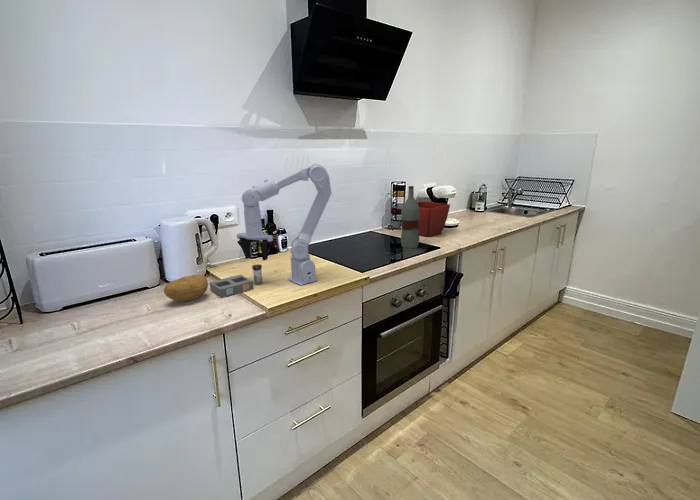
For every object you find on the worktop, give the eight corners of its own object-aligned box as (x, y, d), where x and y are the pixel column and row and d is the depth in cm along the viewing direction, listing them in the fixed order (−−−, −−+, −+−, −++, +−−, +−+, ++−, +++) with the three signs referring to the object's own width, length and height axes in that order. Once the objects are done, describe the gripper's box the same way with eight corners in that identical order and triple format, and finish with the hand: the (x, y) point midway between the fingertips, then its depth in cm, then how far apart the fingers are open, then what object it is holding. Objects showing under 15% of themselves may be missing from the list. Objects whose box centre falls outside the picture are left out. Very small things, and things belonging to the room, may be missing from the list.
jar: (264, 283, 140) (263, 265, 138) (256, 285, 138) (254, 267, 136) (260, 281, 143) (258, 263, 141) (252, 283, 141) (250, 265, 139)
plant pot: (429, 239, 201) (430, 208, 196) (402, 234, 215) (402, 205, 210) (449, 233, 213) (451, 204, 209) (422, 228, 227) (423, 201, 222)
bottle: (419, 249, 183) (421, 187, 175) (400, 248, 184) (401, 187, 176) (418, 244, 192) (420, 185, 184) (400, 244, 193) (401, 185, 185)
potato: (161, 302, 125) (157, 279, 123) (203, 290, 134) (200, 269, 132) (172, 310, 118) (168, 287, 116) (214, 298, 128) (211, 276, 125)
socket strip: (254, 289, 135) (253, 281, 134) (221, 298, 127) (220, 289, 127) (241, 282, 142) (240, 274, 142) (210, 290, 135) (209, 282, 134)
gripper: (276, 221, 136) (279, 257, 140) (243, 219, 142) (247, 254, 145) (265, 225, 130) (268, 262, 133) (231, 223, 135) (235, 259, 139)
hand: (256, 258), depth 139 cm, fingers open, 7 cm apart
